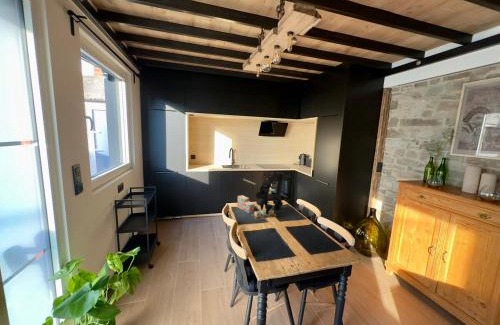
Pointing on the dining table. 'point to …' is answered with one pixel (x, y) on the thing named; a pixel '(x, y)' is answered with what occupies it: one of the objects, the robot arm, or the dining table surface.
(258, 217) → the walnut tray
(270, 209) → the maple block
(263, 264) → the dining table surface
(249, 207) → the stack of blocks
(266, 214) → the sage block
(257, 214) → the maple block
